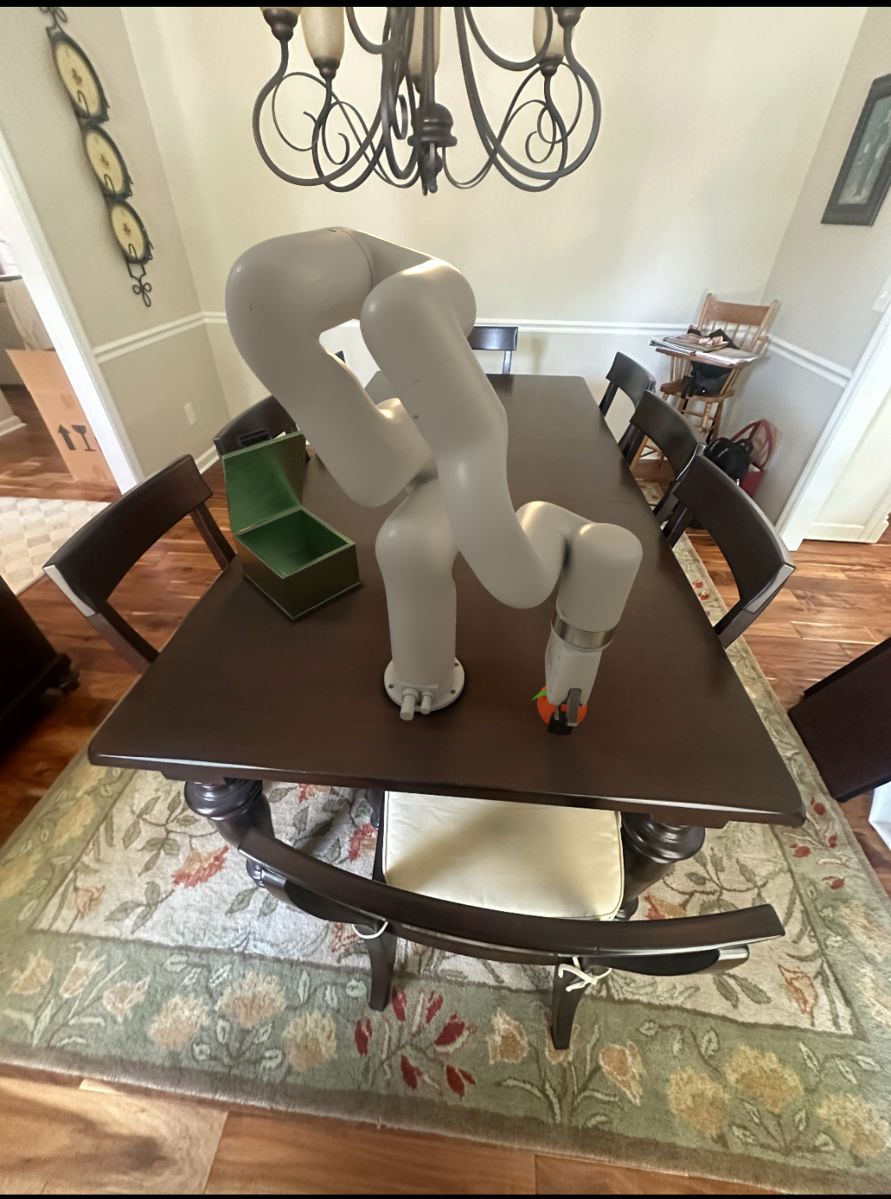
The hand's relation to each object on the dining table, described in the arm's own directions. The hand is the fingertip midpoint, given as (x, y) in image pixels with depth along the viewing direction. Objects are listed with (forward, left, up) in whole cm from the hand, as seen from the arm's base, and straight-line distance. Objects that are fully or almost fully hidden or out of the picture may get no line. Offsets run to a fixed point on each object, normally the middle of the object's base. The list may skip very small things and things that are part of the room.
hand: (557, 709), depth 74 cm
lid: (+31, +51, +16) cm, 62 cm away
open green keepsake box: (+28, +47, -3) cm, 55 cm away
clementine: (0, 0, -2) cm, 2 cm away
